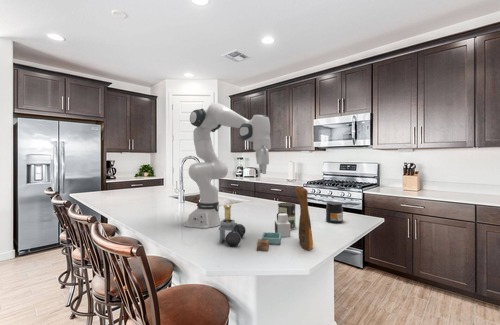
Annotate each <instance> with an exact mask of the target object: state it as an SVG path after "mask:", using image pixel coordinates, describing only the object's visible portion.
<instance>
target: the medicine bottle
mask: <svg viewBox="0 0 500 325" xmlns="http://www.w3.org/2000/svg"><path fill="white" fill-rule="evenodd" d="M274 233H281V238H289V237H291V230H290V223H289V222H288V214H287V213H285V212H280V213H278V212H277V213H276V220H274Z"/></svg>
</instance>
